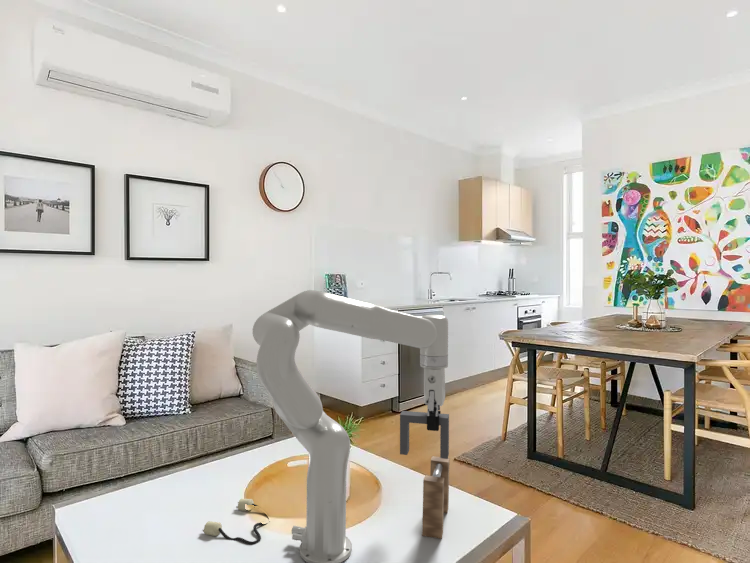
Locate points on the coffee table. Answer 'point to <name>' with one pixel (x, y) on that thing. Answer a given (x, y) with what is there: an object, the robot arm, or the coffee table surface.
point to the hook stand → (435, 497)
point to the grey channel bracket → (420, 418)
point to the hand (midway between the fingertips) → (433, 426)
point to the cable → (216, 527)
